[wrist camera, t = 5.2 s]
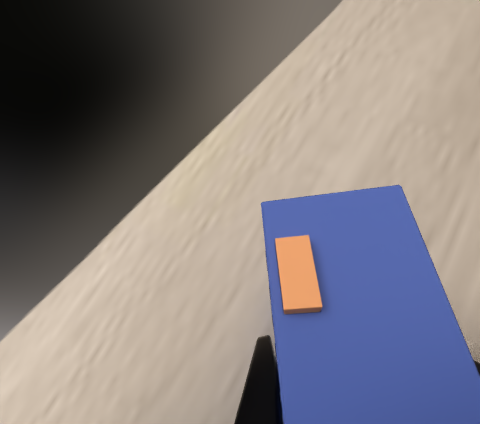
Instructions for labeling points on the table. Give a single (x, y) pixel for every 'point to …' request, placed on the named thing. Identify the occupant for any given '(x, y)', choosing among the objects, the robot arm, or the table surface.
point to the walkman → (363, 315)
